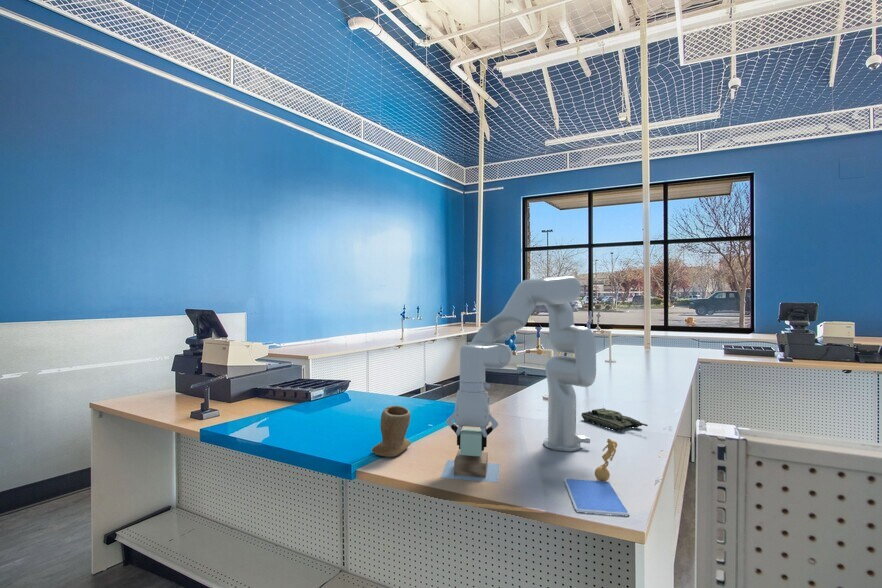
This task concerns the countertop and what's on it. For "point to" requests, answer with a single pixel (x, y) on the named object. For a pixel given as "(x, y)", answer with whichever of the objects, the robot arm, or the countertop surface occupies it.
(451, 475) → the light blue mat
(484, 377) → the robot arm
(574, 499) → the tablet computer
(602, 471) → the figurine
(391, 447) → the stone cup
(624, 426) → the toy tank
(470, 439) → the sage cube
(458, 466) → the walnut base block
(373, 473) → the countertop surface
